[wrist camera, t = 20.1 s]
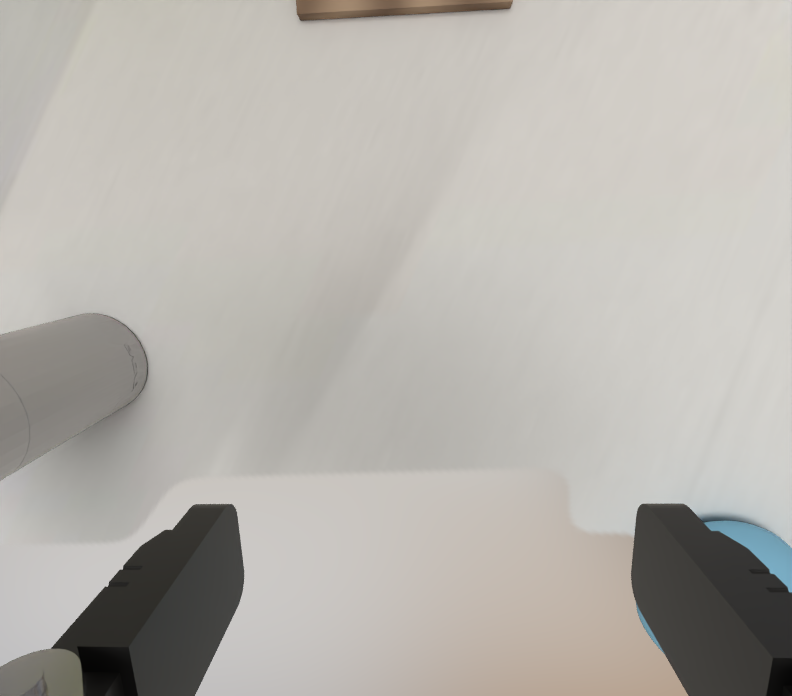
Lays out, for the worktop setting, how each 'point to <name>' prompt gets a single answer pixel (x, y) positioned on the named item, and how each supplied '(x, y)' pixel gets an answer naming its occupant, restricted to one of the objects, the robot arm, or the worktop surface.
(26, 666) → the robot arm
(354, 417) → the worktop surface
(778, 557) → the sugar bowl
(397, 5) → the walnut board
